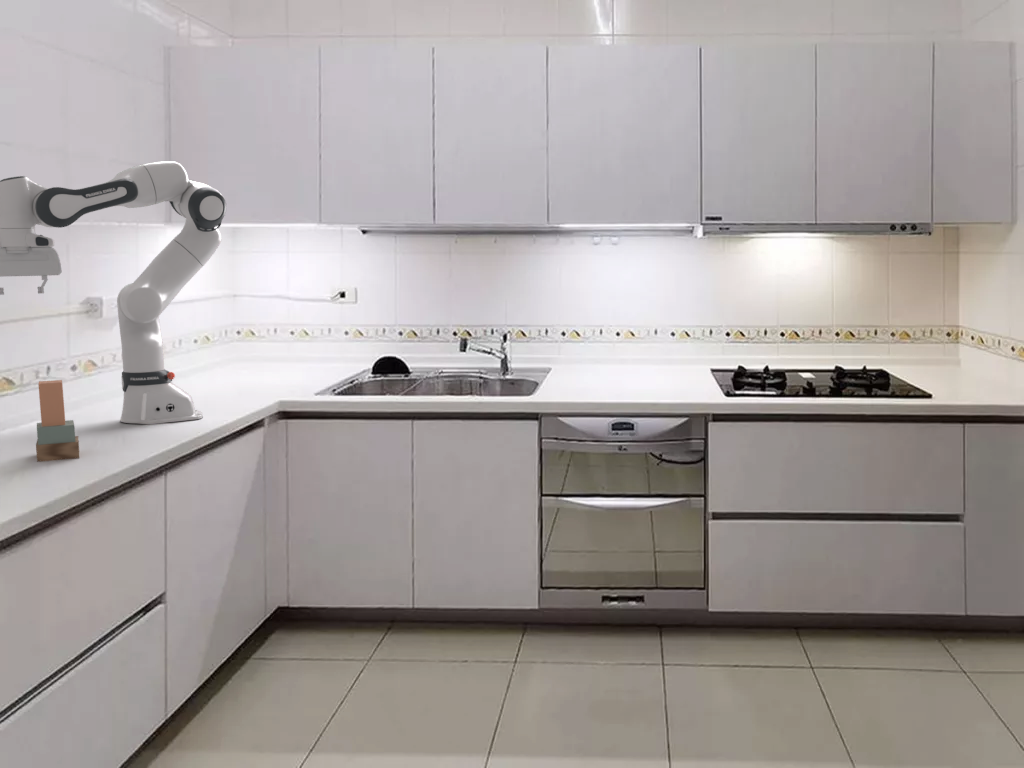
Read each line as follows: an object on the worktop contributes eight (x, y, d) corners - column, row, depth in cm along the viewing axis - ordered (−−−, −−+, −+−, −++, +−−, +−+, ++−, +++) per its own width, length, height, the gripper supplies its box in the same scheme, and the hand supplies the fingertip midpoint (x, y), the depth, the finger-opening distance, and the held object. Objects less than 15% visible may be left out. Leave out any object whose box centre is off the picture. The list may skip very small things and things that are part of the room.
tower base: (79, 452, 254) (78, 435, 254) (79, 458, 246) (78, 442, 246) (38, 455, 251) (37, 439, 251) (37, 462, 243) (35, 445, 242)
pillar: (65, 421, 250) (62, 379, 249) (65, 424, 246) (61, 382, 244) (42, 423, 249) (39, 381, 247) (41, 426, 244) (38, 383, 243)
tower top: (74, 436, 253) (73, 420, 253) (75, 441, 246) (74, 424, 245) (38, 439, 250) (36, 422, 249) (38, 445, 243) (36, 427, 242)
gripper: (-29, 240, 264) (-25, 295, 266) (59, 239, 272) (63, 293, 274) (-28, 240, 270) (-23, 294, 272) (59, 240, 278) (62, 292, 280)
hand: (21, 294), depth 273 cm, fingers open, 8 cm apart
